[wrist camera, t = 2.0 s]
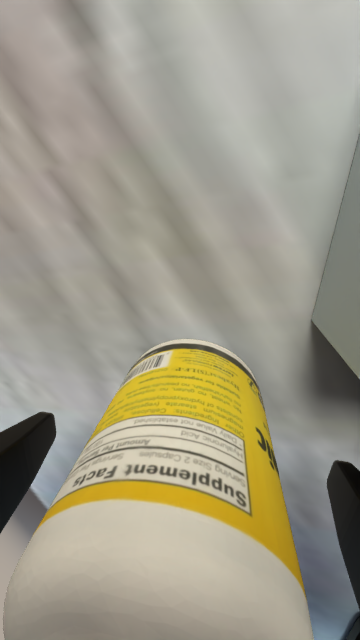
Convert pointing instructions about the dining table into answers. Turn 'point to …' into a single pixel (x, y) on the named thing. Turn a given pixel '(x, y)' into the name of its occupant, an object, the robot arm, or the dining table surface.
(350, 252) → the housing
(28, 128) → the dining table surface
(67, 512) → the supplement bottle
